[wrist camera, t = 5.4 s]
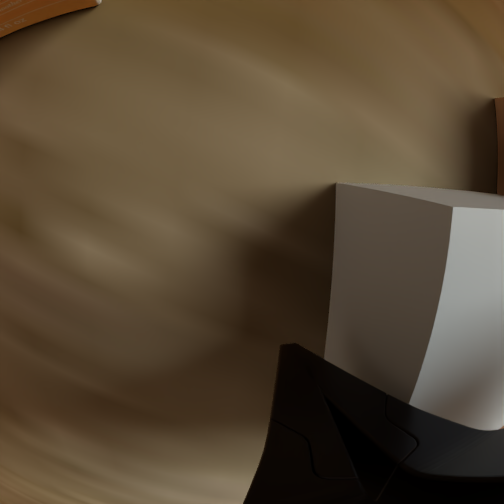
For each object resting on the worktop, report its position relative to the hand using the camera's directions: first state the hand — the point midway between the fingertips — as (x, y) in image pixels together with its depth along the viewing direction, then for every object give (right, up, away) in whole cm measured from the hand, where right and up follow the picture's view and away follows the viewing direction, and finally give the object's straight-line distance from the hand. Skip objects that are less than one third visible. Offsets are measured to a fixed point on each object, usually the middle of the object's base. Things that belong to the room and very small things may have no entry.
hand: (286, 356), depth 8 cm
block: (+6, +1, +2) cm, 6 cm away
